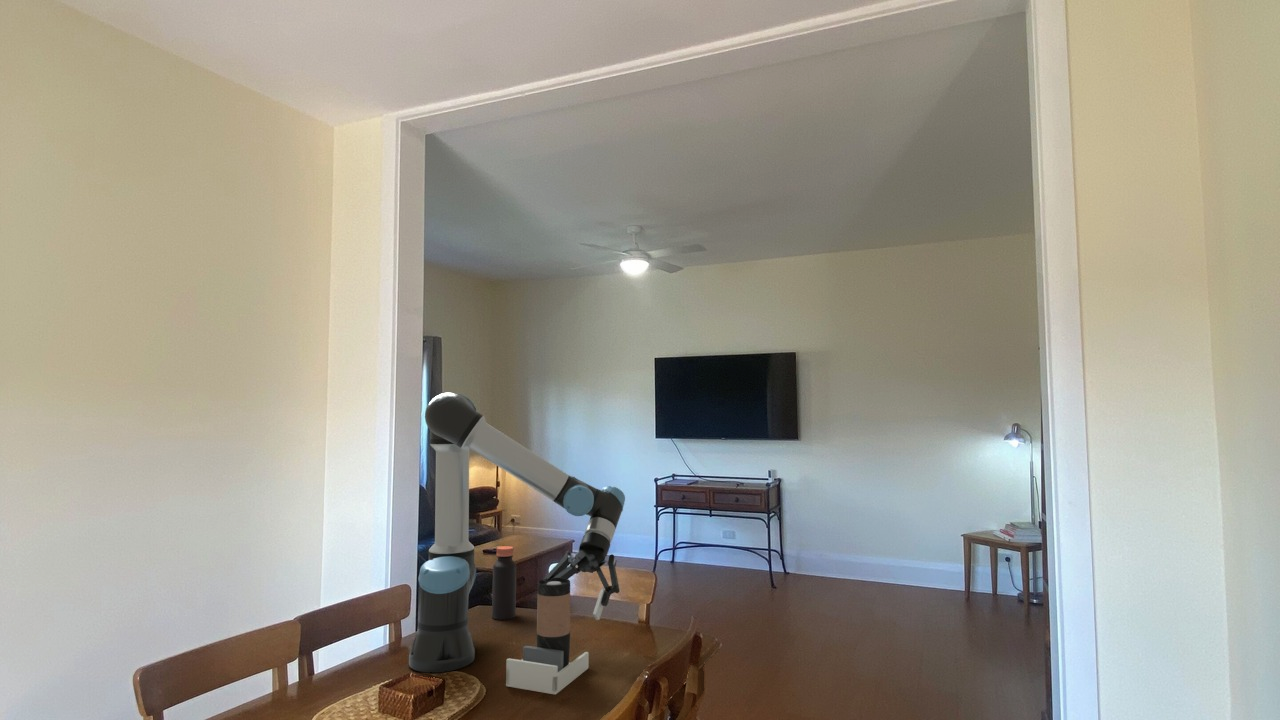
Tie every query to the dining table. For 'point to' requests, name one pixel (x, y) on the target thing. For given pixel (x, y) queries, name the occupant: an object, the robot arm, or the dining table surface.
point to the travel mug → (554, 616)
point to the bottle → (504, 585)
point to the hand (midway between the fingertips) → (570, 614)
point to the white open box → (543, 674)
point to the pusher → (543, 656)
